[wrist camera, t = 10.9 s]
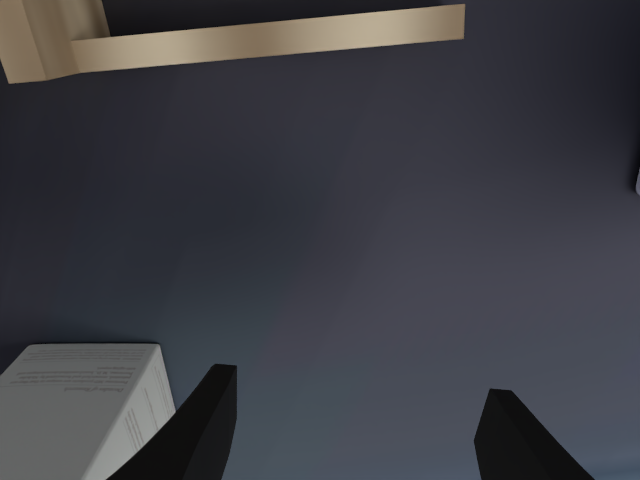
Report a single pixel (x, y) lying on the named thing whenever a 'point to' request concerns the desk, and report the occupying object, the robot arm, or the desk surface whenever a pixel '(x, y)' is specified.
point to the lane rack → (192, 37)
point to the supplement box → (80, 409)
